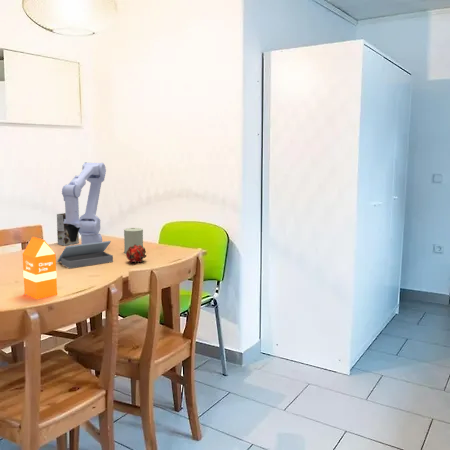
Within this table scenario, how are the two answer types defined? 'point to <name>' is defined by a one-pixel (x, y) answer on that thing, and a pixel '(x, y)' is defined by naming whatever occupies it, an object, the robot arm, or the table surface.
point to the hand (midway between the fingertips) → (73, 241)
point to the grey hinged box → (86, 260)
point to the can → (132, 237)
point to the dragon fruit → (136, 253)
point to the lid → (84, 249)
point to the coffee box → (64, 231)
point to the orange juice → (39, 269)
